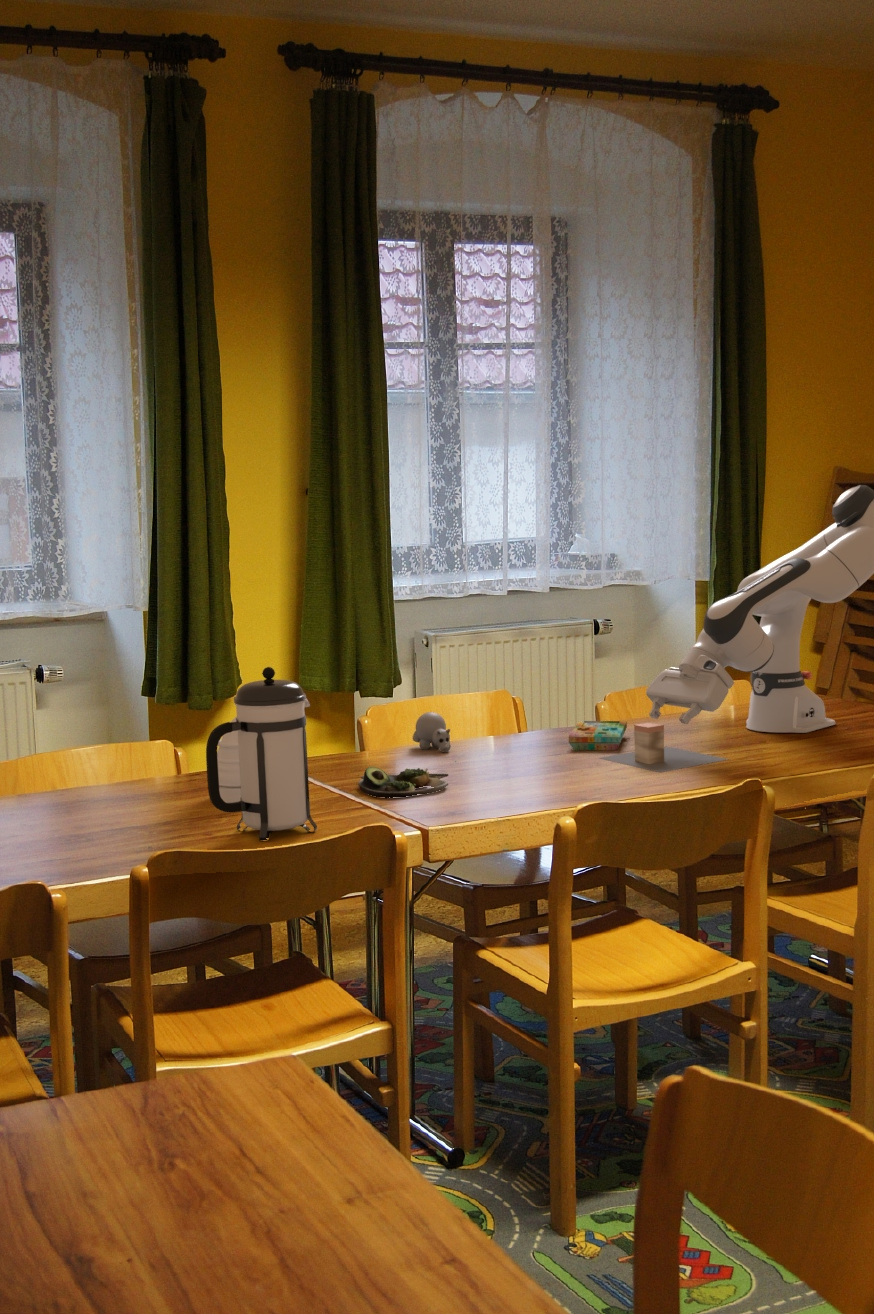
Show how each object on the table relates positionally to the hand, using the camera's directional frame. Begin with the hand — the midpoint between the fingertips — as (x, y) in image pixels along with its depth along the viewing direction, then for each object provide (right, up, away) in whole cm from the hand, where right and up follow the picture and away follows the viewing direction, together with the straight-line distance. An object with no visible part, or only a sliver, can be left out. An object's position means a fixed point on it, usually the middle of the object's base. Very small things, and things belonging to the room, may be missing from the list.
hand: (667, 719), depth 282 cm
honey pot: (-90, -15, -20) cm, 93 cm away
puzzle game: (-12, -7, +23) cm, 27 cm away
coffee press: (-80, -18, -50) cm, 96 cm away
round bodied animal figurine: (-51, -8, +23) cm, 56 cm away
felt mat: (-1, -9, +1) cm, 9 cm away
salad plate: (-58, -14, -18) cm, 62 cm away
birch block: (-4, -9, -1) cm, 10 cm away
